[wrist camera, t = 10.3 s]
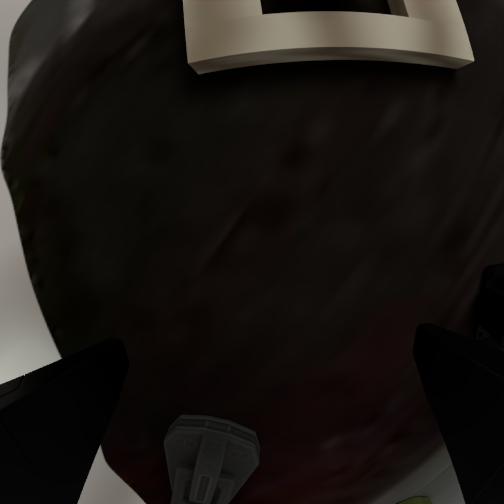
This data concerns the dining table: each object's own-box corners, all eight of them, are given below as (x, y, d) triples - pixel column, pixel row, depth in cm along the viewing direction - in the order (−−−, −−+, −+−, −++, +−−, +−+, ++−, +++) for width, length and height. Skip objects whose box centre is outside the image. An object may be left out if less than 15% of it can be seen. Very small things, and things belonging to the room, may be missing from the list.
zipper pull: (154, 541, 26) (148, 458, 19) (165, 507, 32) (171, 404, 25) (219, 556, 26) (265, 485, 18) (225, 521, 32) (269, 426, 25)
